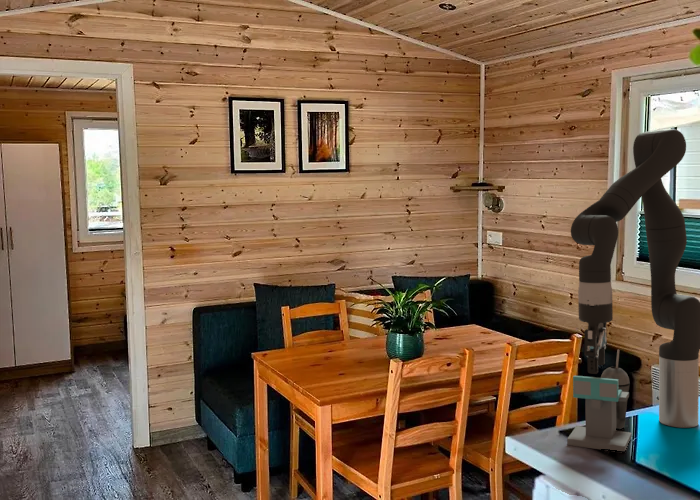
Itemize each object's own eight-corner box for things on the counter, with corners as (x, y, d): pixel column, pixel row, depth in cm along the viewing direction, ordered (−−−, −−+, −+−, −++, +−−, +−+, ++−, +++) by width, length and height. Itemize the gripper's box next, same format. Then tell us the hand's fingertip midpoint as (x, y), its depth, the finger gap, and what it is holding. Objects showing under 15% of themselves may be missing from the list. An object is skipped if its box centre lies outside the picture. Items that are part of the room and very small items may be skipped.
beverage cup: (593, 424, 184) (593, 348, 183) (617, 421, 186) (616, 345, 185) (612, 433, 177) (612, 354, 176) (636, 429, 179) (636, 351, 178)
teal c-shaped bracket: (579, 389, 176) (579, 369, 175) (622, 393, 171) (622, 373, 170) (573, 397, 169) (573, 376, 169) (617, 401, 165) (617, 380, 164)
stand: (576, 431, 179) (576, 384, 178) (631, 438, 173) (631, 390, 172) (567, 444, 170) (566, 395, 169) (624, 452, 164) (624, 401, 163)
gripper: (584, 295, 174) (585, 361, 175) (572, 304, 161) (573, 375, 162) (617, 296, 170) (618, 363, 171) (606, 306, 158) (607, 377, 159)
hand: (596, 369), depth 167 cm, fingers open, 8 cm apart
